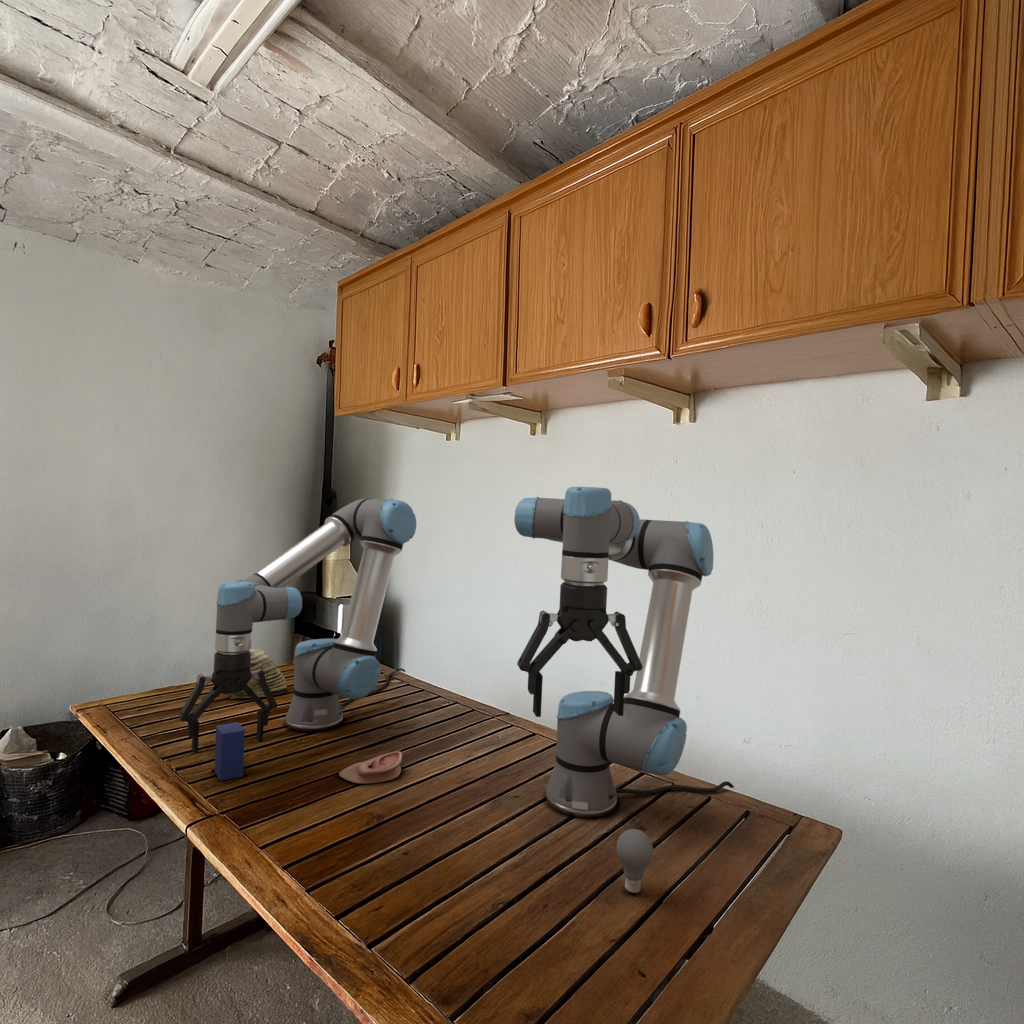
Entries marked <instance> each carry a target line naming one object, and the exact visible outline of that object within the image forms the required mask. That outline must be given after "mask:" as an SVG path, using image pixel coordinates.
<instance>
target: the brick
mask: <svg viewBox="0 0 1024 1024" xmlns="http://www.w3.org/2000/svg"><path fill="white" fill-rule="evenodd" d="M245 731H246V730H245V729H244V727H243V726H242V725H241V724H240V723H239V722H238V721H237V722H231V723H224V724H217V725H215V743H214V744H215V745H214V746H215V747H214V773H215V774H216V776H217V778H218V780H219V781H220V782H222V781H228V780H232V779H236V778H242V777H244V765H245V764H244V763H245V762H244V761H245V737H246V736H245V735H246V734H245V733H246V732H245Z"/></svg>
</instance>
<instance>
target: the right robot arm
mask: <svg viewBox="0 0 1024 1024" xmlns="http://www.w3.org/2000/svg"><path fill="white" fill-rule="evenodd" d="M514 510H515V511H514V518H513V520H514V521H513V522H514V527H515V530H516V531H517V532H518V534H519V535H520V536H522V537H525V538H532V539H542V540H548V541H553V542H558V543H562V550H561V564H560V579H561V580H562V581H563V582H562V583H560V587H559V588H560V589H559V608H558V611H557V613H552V612H548V611H546V610H541V611H540V612H539V616H538V621H537V625H536V627H535V628H534V631H533V633H532V634H531V636H530V638H529V640H528V642H527V644H526V645H525V647H524V649H523V651H522V653H521V654H520V656H519V658H518V660H517V662H516V665H517V667H518V668H519V670H520V671H521V672H526V673H527V675H528V676H527V691H528V693H529V695H532V696H533V699H532V702H533V703H532V712H533V714H534V716H535V717H536V718H541V717H542V699H543V678H544V677H543V674H542V673H541V670H542V669H543V668H544V667H545V666H546V665H547V664H548V662H549V661H551V659H552V658H553V657H554V656H555V654H556V653H557V652H558V651H559V650H560V649H561V648H562V646H563V645H565V644H567V642H568V641H569V640H571V641H572V642H581V641H585V642H593V641H594V640H597V641H598V642H599V644H600V645H601V646H602V647H603V650H605V651H606V653H607V654H608V656H609V657H610V658H611V659H612V661H613V662H614V663H615V664H616V666H617V668H618V669H619V670H615V671H614V691H613V695H612V694H611V693H608V692H606V691H600V690H579V691H574V692H570V693H568V694H566V695H564V696H562V697H561V699H560V700H559V702H558V709H557V715H556V719H557V724H556V747H555V748H556V750H555V762H554V763H555V764H554V766H553V769H552V772H551V775H550V777H549V780H548V782H547V784H546V789H545V799H546V800H545V801H546V802H547V804H548V805H549V806H550V807H551V808H552V809H554V810H555V811H557V812H559V813H562V814H564V815H567V816H571V817H576V818H586V819H587V818H589V819H591V818H599V817H603V816H607V815H609V814H611V813H613V812H614V811H615V810H616V808H617V803H618V796H617V795H618V794H632V795H652V794H657V793H661V792H665V791H669V790H670V791H671V790H685V791H691V792H698V793H715V792H719V791H720V790H722V789H723V788H725V787H726V786H727V787H729V788H731V789H734V788H735V786H734V785H733V784H732V783H731V782H730V781H729V780H728V781H722V782H721V783H719V784H718V785H716V786H714V787H697V786H691V785H682V784H671V785H664V786H659V787H656V788H650V789H634V788H633V789H632V788H616V786H615V783H614V779H613V775H612V770H611V764H615V765H618V766H621V767H626V768H629V769H632V770H637V771H640V772H643V773H645V774H652V775H657V776H662V777H663V776H668V775H670V774H671V773H672V772H674V770H675V769H676V767H677V766H678V764H679V762H680V760H681V758H682V756H683V752H684V749H685V745H686V740H687V731H688V726H687V722H686V721H685V719H683V718H682V717H680V715H681V708H680V706H679V705H678V704H677V702H676V692H677V688H678V687H677V686H678V682H679V681H678V680H679V675H680V668H681V663H682V658H683V657H682V656H683V651H684V645H685V639H686V631H687V626H688V621H689V614H690V609H691V602H692V596H693V591H694V590H696V589H697V588H699V587H700V586H701V585H702V580H703V577H709V576H710V575H711V574H712V571H713V569H714V546H713V545H714V544H713V540H712V535H711V532H710V530H709V528H708V526H707V525H705V523H699V522H693V521H688V520H685V521H677V520H662V519H661V520H660V519H659V520H657V519H641V518H640V514H639V512H638V510H637V509H636V508H635V507H634V506H633V505H632V504H631V503H628V502H627V501H623V500H622V499H621V500H620V499H619V500H613V499H612V492H611V490H610V488H607V487H596V486H570V487H568V488H567V489H566V491H565V494H564V498H554V497H553V498H551V497H539V496H536V497H524V498H522V499H521V500H519V502H518V503H517V505H516V507H515V509H514ZM609 561H612V562H615V563H618V564H621V565H623V566H627V567H629V568H634V569H637V570H645V571H647V577H648V578H649V580H651V582H652V589H651V593H650V597H649V598H650V599H649V603H648V609H647V614H646V618H645V625H644V632H643V636H642V641H641V646H640V650H639V651H640V652H639V655H638V652H637V650H636V648H635V645H634V642H633V641H632V639H631V636H630V634H629V631H628V629H627V622H626V621H627V620H626V616H625V614H623V613H621V612H619V611H615V612H613V613H610V614H609V613H607V604H608V603H607V601H608V586H607V585H606V584H605V583H606V582H608V580H609V578H608V577H609V576H608V575H609ZM555 622H556V623H557V624H558V626H559V629H558V630H557V631H556V632H555V633H554V635H553V637H552V638H551V639H550V640H549V641H548V643H547V644H546V645H545V646H544V647H543V648H542V649H541V650H540V652H539V653H538V654H537V655H536V653H537V651H538V649H539V647H540V645H541V644H542V642H543V640H544V639H545V637H546V634H547V633H548V630H549V628H550V627H552V626H553V624H554V623H555ZM608 623H610V625H611V626H612V627H613V628H614V630H615V632H616V634H617V637H618V639H619V642H620V644H621V646H622V649H623V651H624V653H625V656H626V659H627V660H628V662H626V660H625V659H624V658H623V656H622V655H621V654H620V652H619V651H618V649H616V647H615V646H614V644H613V643H612V642H611V641H610V639H609V638H608V636H607V635H606V634H605V632H604V631H603V630H604V629H605V628H606V626H607V625H608ZM535 655H536V657H535ZM533 658H534V659H533ZM634 673H635V679H634V684H633V689H632V690H631V677H632V676H633V674H634Z"/></svg>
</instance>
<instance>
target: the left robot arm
mask: <svg viewBox="0 0 1024 1024" xmlns="http://www.w3.org/2000/svg"><path fill="white" fill-rule="evenodd" d="M416 530H417V516H416V514H415V513H414V510H413V508H412V507H411V506H410V504H408V503H407V502H406V501H403V500H398V499H395V498H372V497H370V498H368V497H367V498H365V497H363V498H360V499H357V500H354V501H352V502H350V503H348V504H346V505H345V506H343V507H341V508H340V509H338V510H336V511H335V512H334V513H332V514H331V515H329V516H328V517H326V518H325V520H324V524H323V525H321V526H320V527H318V528H317V529H316V530H314V531H313V532H311V533H309V535H307V536H306V537H304V538H302V539H301V540H300V541H298V542H297V543H296V544H294V545H292V546H291V547H290V548H288V549H287V550H285V551H284V552H282V553H281V554H280V555H278V556H277V557H276V558H274V559H272V560H271V561H269V562H268V563H267V564H266V565H264V566H262V568H260V569H258V570H257V571H255V572H254V573H253V574H252V575H249V576H248V577H247V578H245V579H238V580H237V579H236V580H232V581H225V582H222V583H221V584H220V585H219V587H218V592H217V599H216V603H215V604H216V620H215V636H214V637H215V639H214V650H215V651H216V652H215V653H214V654H213V655H214V657H213V671H212V675H203V674H202V673H200V674H198V675H197V679H196V683H195V686H194V687H193V689H192V691H191V693H190V695H189V696H188V698H187V699H186V701H185V703H184V705H183V707H182V709H181V710H180V711H179V713H178V718H179V720H180V721H181V722H186V723H187V732H186V734H187V736H188V738H191V751H192V752H193V754H198V753H199V738H200V737H199V735H200V721H199V720H198V719H199V718H200V717H201V716H202V715H203V713H204V712H205V711H206V710H207V709H208V707H209V706H210V705H211V704H212V703H213V702H214V701H215V700H216V699H217V698H218V697H219V696H220V695H221V694H223V695H230V693H239V692H240V691H242V690H244V691H245V692H246V693H247V694H248V695H249V696H250V697H251V699H252V700H253V702H255V704H256V705H257V706H258V707H259V708H260V710H259V709H258V710H257V716H256V717H257V718H256V734H255V735H256V736H255V739H256V740H257V742H259V743H263V741H264V727H267V726H268V725H269V714H270V713H271V710H275V709H277V708H278V703H277V701H276V698H275V697H274V695H272V693H271V691H270V689H269V687H268V685H267V683H266V681H265V672H264V671H263V670H262V669H260V668H258V669H257V670H256V671H250V661H251V652H250V651H249V650H250V649H252V640H253V639H252V638H253V627H254V623H262V622H263V623H264V622H271V621H280V620H282V621H286V620H288V619H292V618H293V619H294V618H295V617H297V616H299V614H301V612H302V609H303V597H302V594H301V592H300V590H299V589H297V588H295V587H287V586H289V585H290V584H292V582H294V581H295V580H297V579H298V578H299V577H301V576H302V575H304V574H305V573H306V572H307V571H309V570H311V569H313V567H314V566H316V565H317V564H318V563H320V562H321V561H322V560H324V559H325V558H326V557H328V556H329V555H331V554H333V552H334V551H336V550H338V549H339V548H340V547H347V546H349V545H350V544H352V543H353V542H355V541H358V540H359V543H360V545H361V547H362V549H363V551H362V554H361V560H360V563H359V566H358V570H357V574H356V578H355V582H354V586H353V590H352V594H351V597H350V600H349V601H350V602H349V606H348V609H347V613H346V616H345V620H344V625H343V628H342V632H341V635H340V636H339V637H338V638H317V639H308V640H304V641H300V642H299V643H298V644H297V645H296V646H295V650H294V655H293V657H294V672H293V673H294V674H293V695H292V696H293V697H292V699H291V702H290V704H289V708H288V711H287V713H286V715H285V726H286V728H287V729H289V730H291V731H294V732H295V731H296V732H301V733H316V732H325V731H329V730H332V729H335V728H337V727H339V726H340V725H342V723H343V722H344V714H343V709H342V707H344V706H346V705H348V704H349V703H350V702H352V701H353V700H356V701H357V700H360V699H364V698H366V697H367V696H369V695H372V694H374V693H377V692H379V691H381V690H382V689H384V688H386V686H387V685H388V684H389V681H390V677H391V676H392V675H394V674H395V673H397V672H400V671H402V672H403V673H406V669H404V668H402V667H401V668H397V669H395V670H393V671H392V672H390V673H388V675H387V678H386V681H385V683H384V684H383V685H382V686H380V687H378V688H376V687H377V685H378V684H379V681H380V678H381V673H382V668H381V666H380V662H379V661H378V659H377V658H376V657H377V652H378V649H377V647H376V645H375V644H374V643H375V641H374V640H375V637H376V634H377V630H378V625H379V621H380V617H381V613H382V609H383V605H384V601H385V597H386V593H387V589H388V584H389V580H390V576H391V572H392V569H393V564H394V561H395V557H396V556H397V555H398V554H400V553H402V551H403V547H404V544H406V543H408V542H409V541H411V539H413V538H414V536H415V534H416ZM394 671H396V672H394ZM252 677H254V679H256V680H258V683H259V685H260V687H261V689H262V691H263V693H264V695H265V699H266V701H267V702H268V703H265V702H264V701H263V700H262V698H261V697H258V696H257V695H256V694H255V693H254V692H253V691H252V689H251V688H250V687H249V686H248V685H247V683H248V682H249V680H250V679H251V678H252ZM210 682H211V683H212V684H213V686H212V687H211V688H210V689H209V691H208V693H207V694H206V695H205V696H204V697H203V699H202V700H201V701H200V702H199V703H198V704H197V705H196V703H197V702H198V700H199V698H200V697H201V694H202V693H203V691H204V689H205V687H207V686H208V685H209V683H210ZM375 688H376V689H375ZM339 697H340V698H343V699H348V700H347V701H345V702H343V703H341V702H340V699H339ZM194 707H195V708H194Z"/></svg>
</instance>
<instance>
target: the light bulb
mask: <svg viewBox="0 0 1024 1024" xmlns="http://www.w3.org/2000/svg"><path fill="white" fill-rule="evenodd" d="M615 849H616V854H617V857H618V859H619V861H620V863H621V865H622V867H623V873H624V874H623V875H624V876H625V878H624V888H625V890H627V891H628V892H630V893H634V894H635V893H639V892H640V891H641V889H642V887H641V886H642V879H643V877H644V875H645V871H646V868H647V867H648V866H649V864H650V863H651V861H652V859H653V855H654V847H653V843H652V841H651V838H649V836H648V835H647V834H646V833H645V832H643V831H642V830H641V829H636V828H629V829H627V830H625V831H623V832H622V833H621V834H620V835H619V837H618V839H617V841H616V847H615Z"/></svg>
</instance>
